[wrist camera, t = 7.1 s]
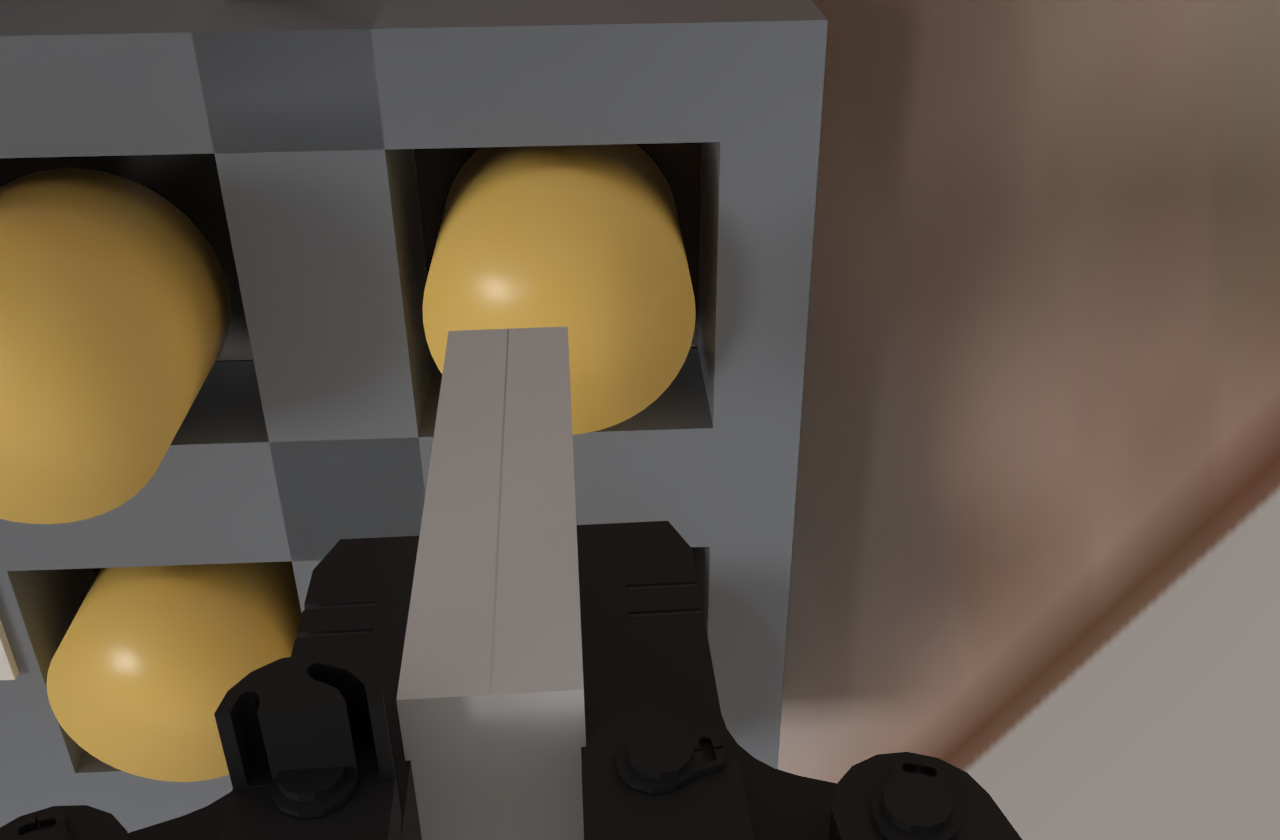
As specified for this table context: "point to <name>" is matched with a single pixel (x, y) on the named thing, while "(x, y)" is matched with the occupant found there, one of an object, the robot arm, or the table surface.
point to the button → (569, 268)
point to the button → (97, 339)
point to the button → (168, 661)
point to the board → (419, 298)
